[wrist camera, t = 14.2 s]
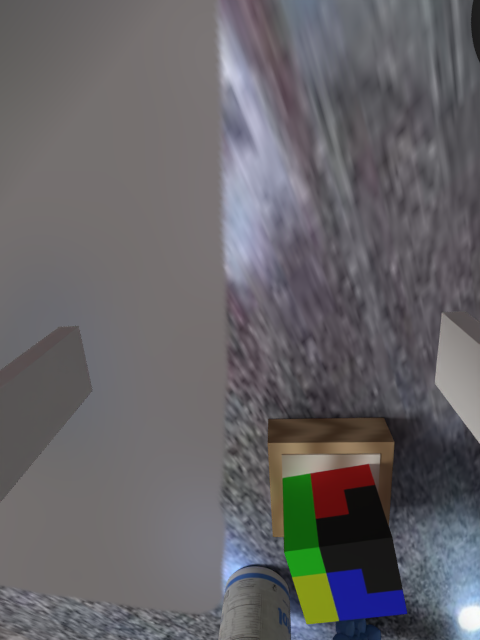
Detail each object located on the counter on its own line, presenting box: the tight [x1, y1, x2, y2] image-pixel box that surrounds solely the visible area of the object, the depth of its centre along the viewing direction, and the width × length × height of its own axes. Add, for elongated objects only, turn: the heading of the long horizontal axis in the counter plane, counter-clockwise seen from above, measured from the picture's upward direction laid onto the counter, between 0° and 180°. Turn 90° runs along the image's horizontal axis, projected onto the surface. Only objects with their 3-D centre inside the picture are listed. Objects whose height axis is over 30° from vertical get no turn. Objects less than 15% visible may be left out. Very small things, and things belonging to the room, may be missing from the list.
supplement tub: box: [219, 566, 291, 640], centre depth 55 cm, size 10×10×15 cm
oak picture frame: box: [268, 418, 394, 537], centre depth 51 cm, size 14×14×5 cm
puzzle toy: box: [282, 464, 407, 624], centre depth 45 cm, size 10×10×10 cm
